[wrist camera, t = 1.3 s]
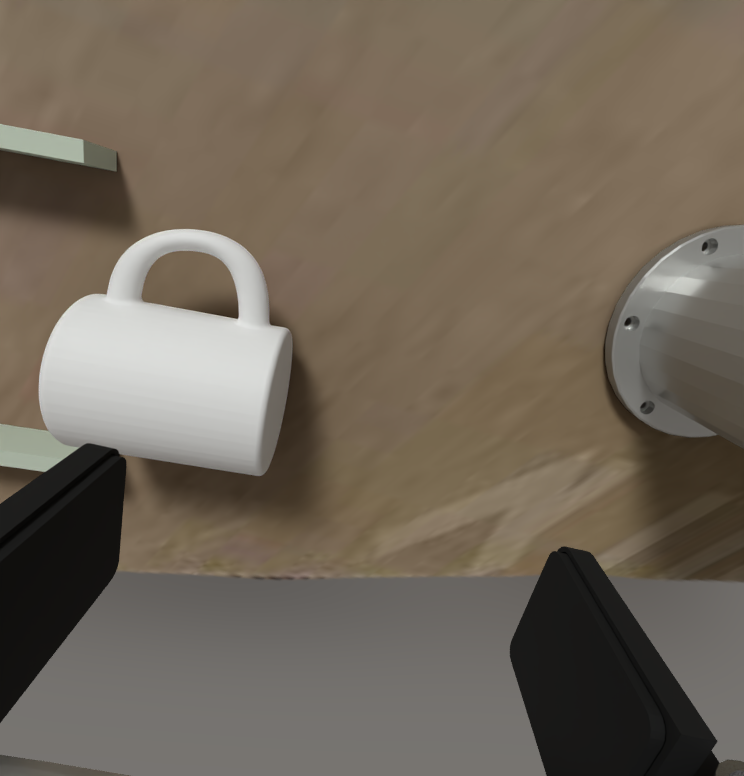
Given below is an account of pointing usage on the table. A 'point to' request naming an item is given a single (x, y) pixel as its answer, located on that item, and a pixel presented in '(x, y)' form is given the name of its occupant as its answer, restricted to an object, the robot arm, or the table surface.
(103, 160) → the green u-shaped bracket
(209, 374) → the mug
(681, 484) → the table surface
